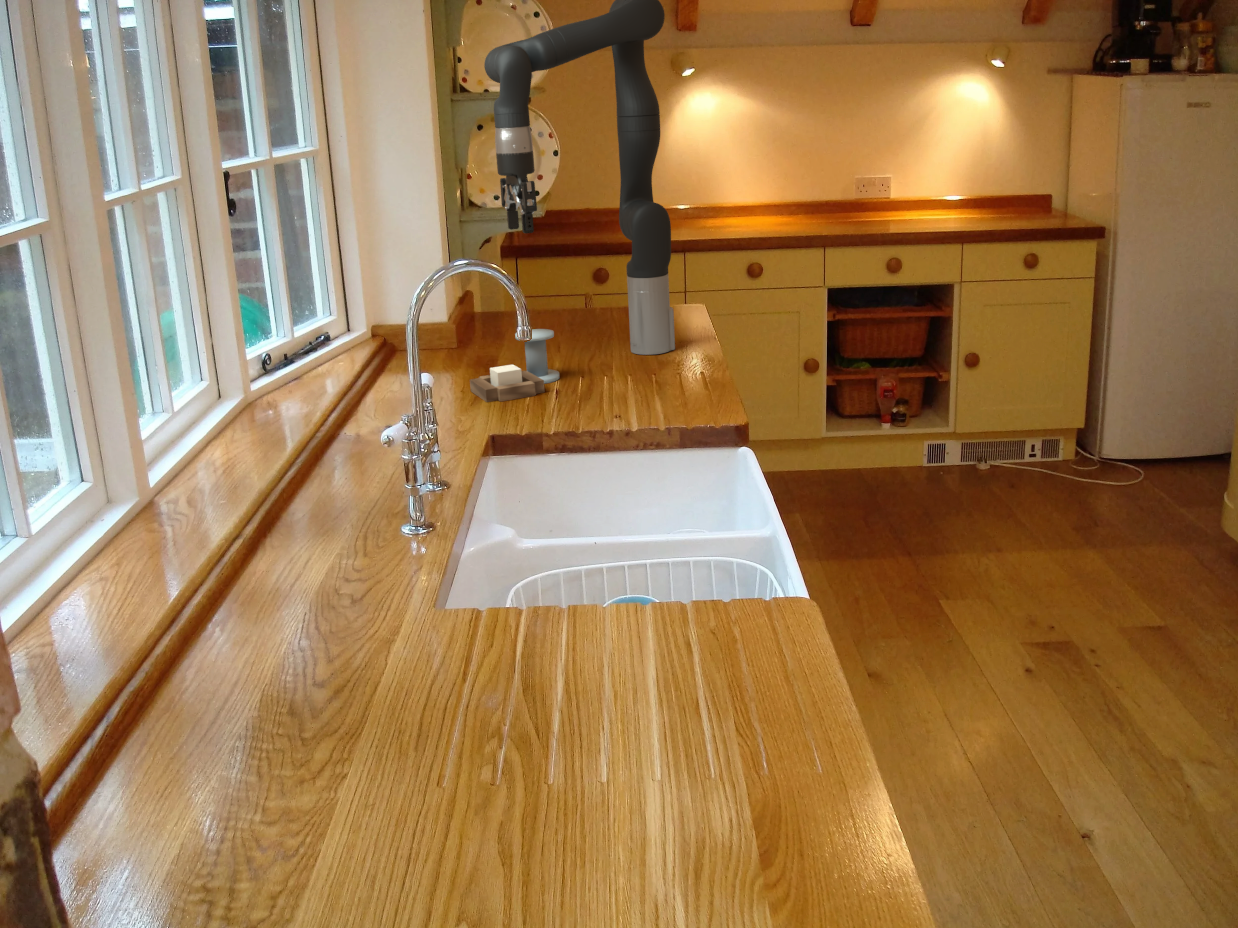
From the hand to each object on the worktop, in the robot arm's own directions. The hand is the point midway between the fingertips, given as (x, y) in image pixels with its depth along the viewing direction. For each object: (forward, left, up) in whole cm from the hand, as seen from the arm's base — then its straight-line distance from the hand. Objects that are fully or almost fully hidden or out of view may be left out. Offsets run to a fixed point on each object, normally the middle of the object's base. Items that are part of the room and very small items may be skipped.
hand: (520, 231), depth 251 cm
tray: (+10, +12, -30) cm, 34 cm away
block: (+10, +12, -30) cm, 34 cm away
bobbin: (+1, +6, -30) cm, 31 cm away
